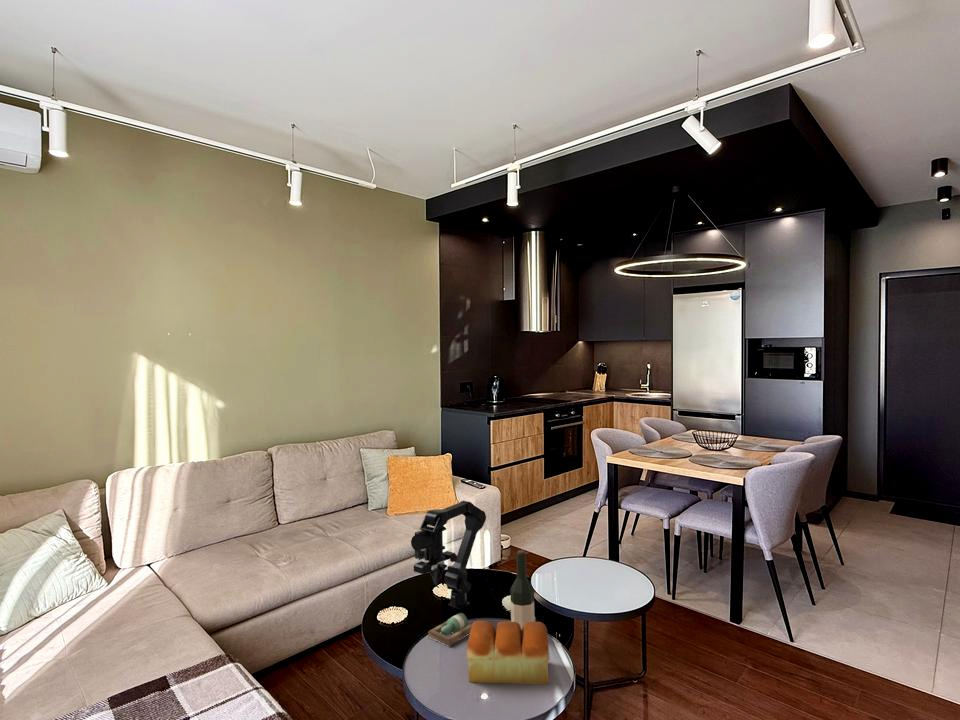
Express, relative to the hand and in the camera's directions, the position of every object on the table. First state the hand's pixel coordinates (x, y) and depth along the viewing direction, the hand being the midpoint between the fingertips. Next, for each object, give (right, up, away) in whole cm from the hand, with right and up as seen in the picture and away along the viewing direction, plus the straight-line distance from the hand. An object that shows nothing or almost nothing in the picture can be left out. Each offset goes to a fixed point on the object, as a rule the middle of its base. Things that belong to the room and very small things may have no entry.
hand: (436, 584), depth 203 cm
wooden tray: (+8, -12, -13) cm, 20 cm away
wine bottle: (+32, -12, -16) cm, 38 cm away
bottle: (+10, -9, -9) cm, 17 cm away
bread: (+26, -12, -38) cm, 48 cm away
